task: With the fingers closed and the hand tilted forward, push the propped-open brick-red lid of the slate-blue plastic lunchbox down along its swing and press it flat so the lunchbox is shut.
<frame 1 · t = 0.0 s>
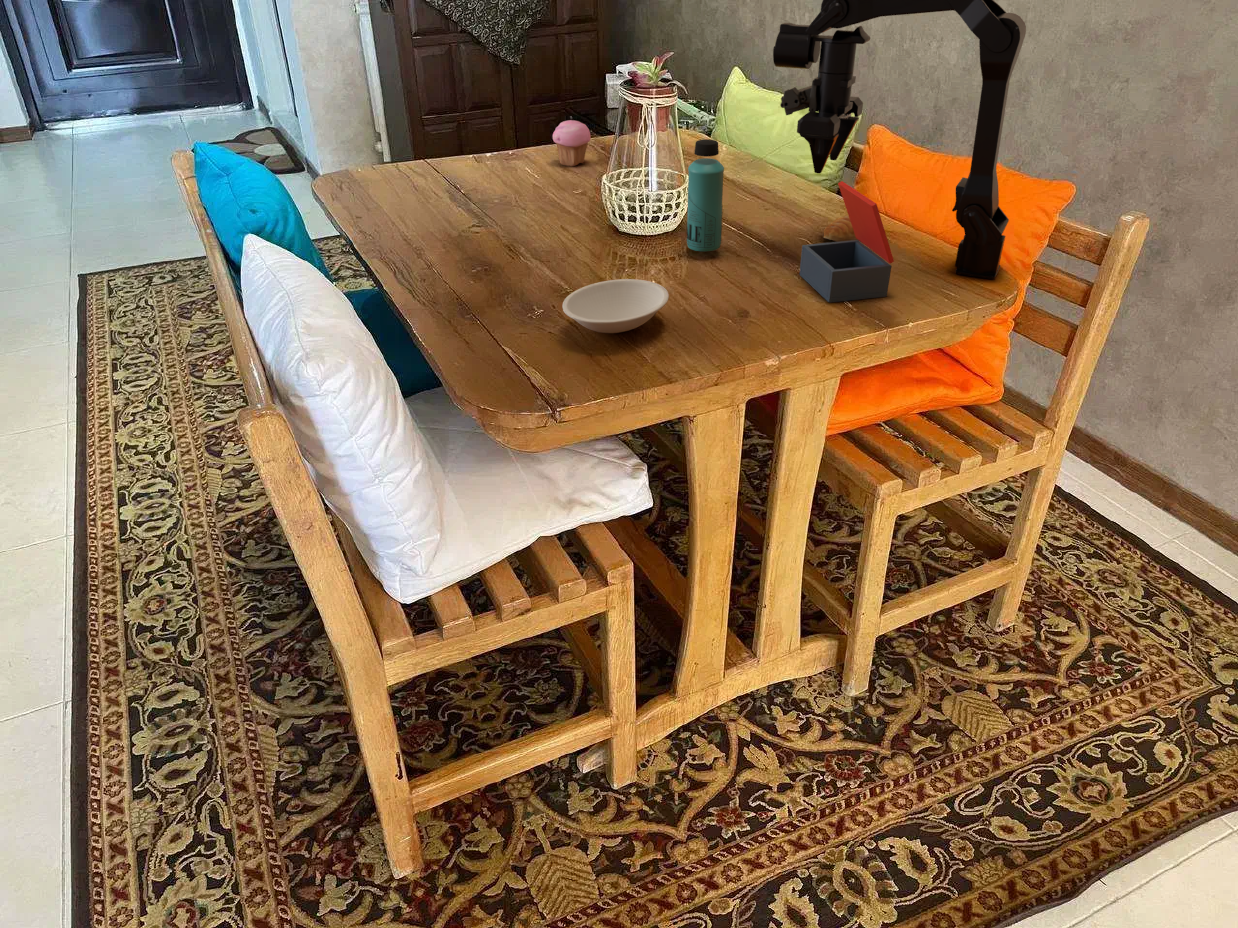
hand: (825, 166, 161), 15 cm above the table, tool pointing down, fingers open, 9 cm apart
dish: (616, 331, 140), on the table
lunchbox: (841, 285, 153), on the table
beverage bottle: (703, 254, 167), on the table
lid: (865, 221, 148), point 11 cm above the table, hinge at 65.0°
pastry: (847, 237, 174), on the table
cupcake: (573, 165, 219), on the table
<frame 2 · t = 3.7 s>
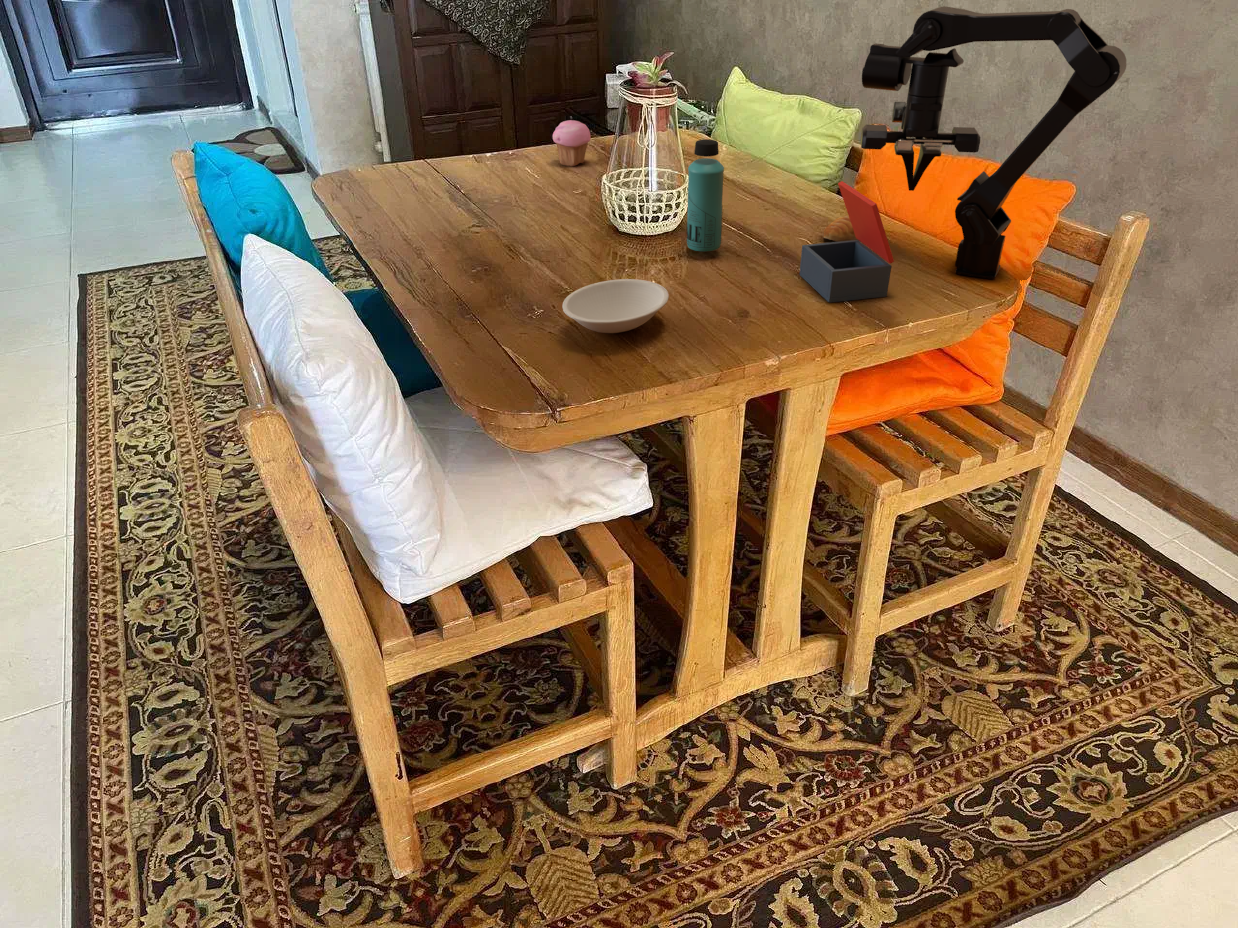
hand: (911, 190, 158), 12 cm above the table, tool pointing down, fingers closed
nothing on the table moved.
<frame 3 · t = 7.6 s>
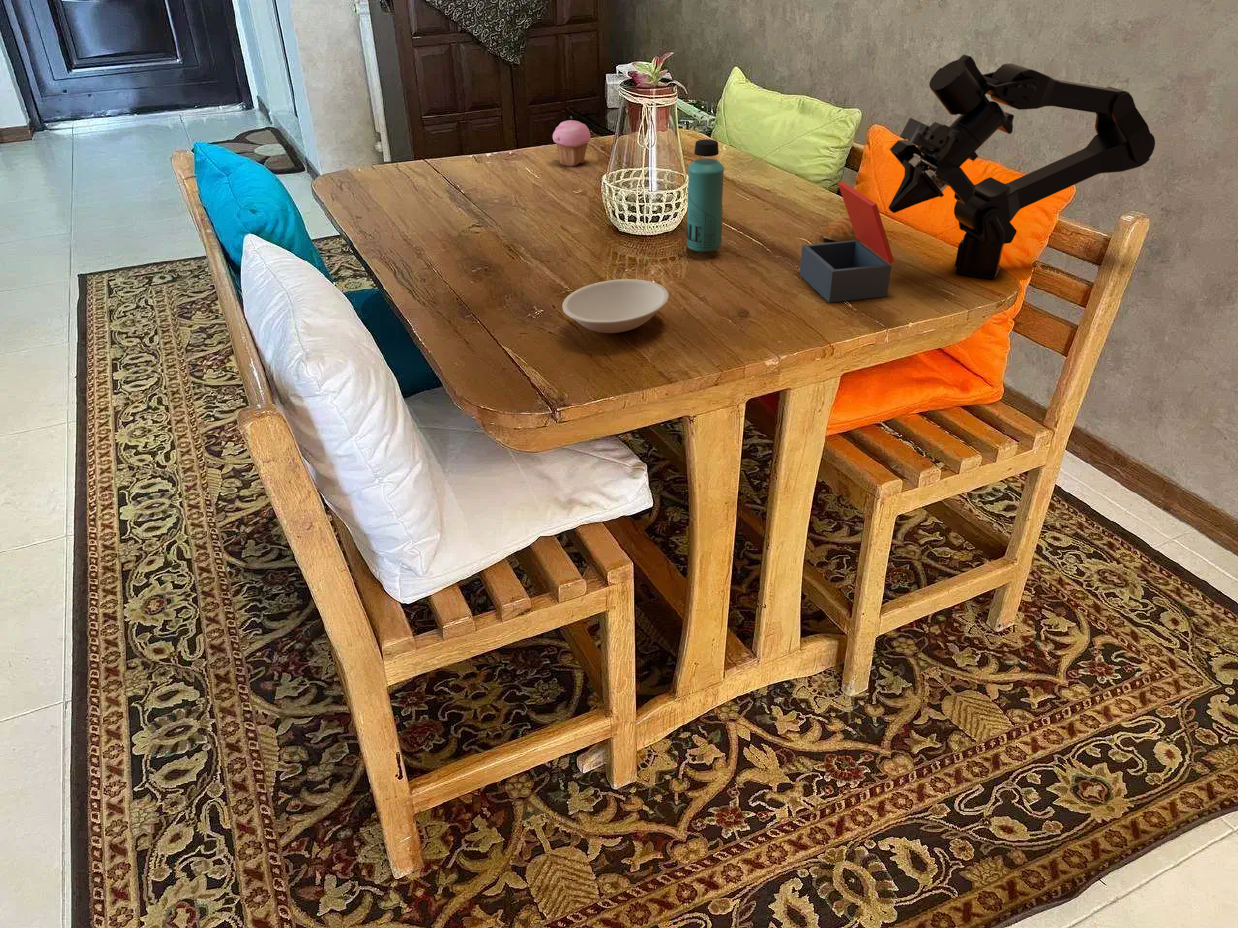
hand: (890, 210, 148), 12 cm above the table, tool tilted 45°, fingers closed
nothing on the table moved.
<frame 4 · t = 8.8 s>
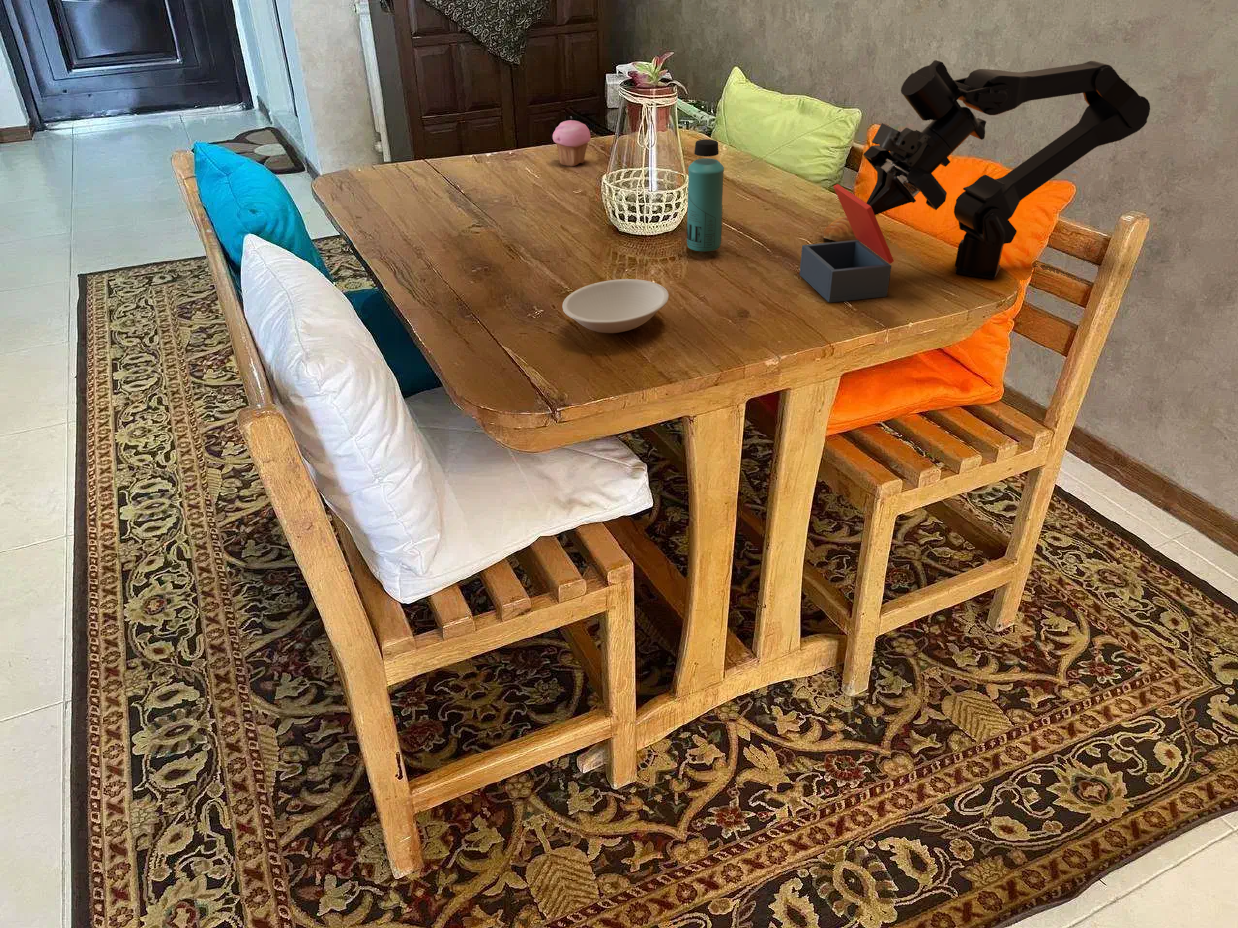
hand: (863, 216, 147), 12 cm above the table, tool tilted 45°, fingers closed
lid: (863, 223, 148), point 10 cm above the table, hinge at 60.2°
everything else where it was.
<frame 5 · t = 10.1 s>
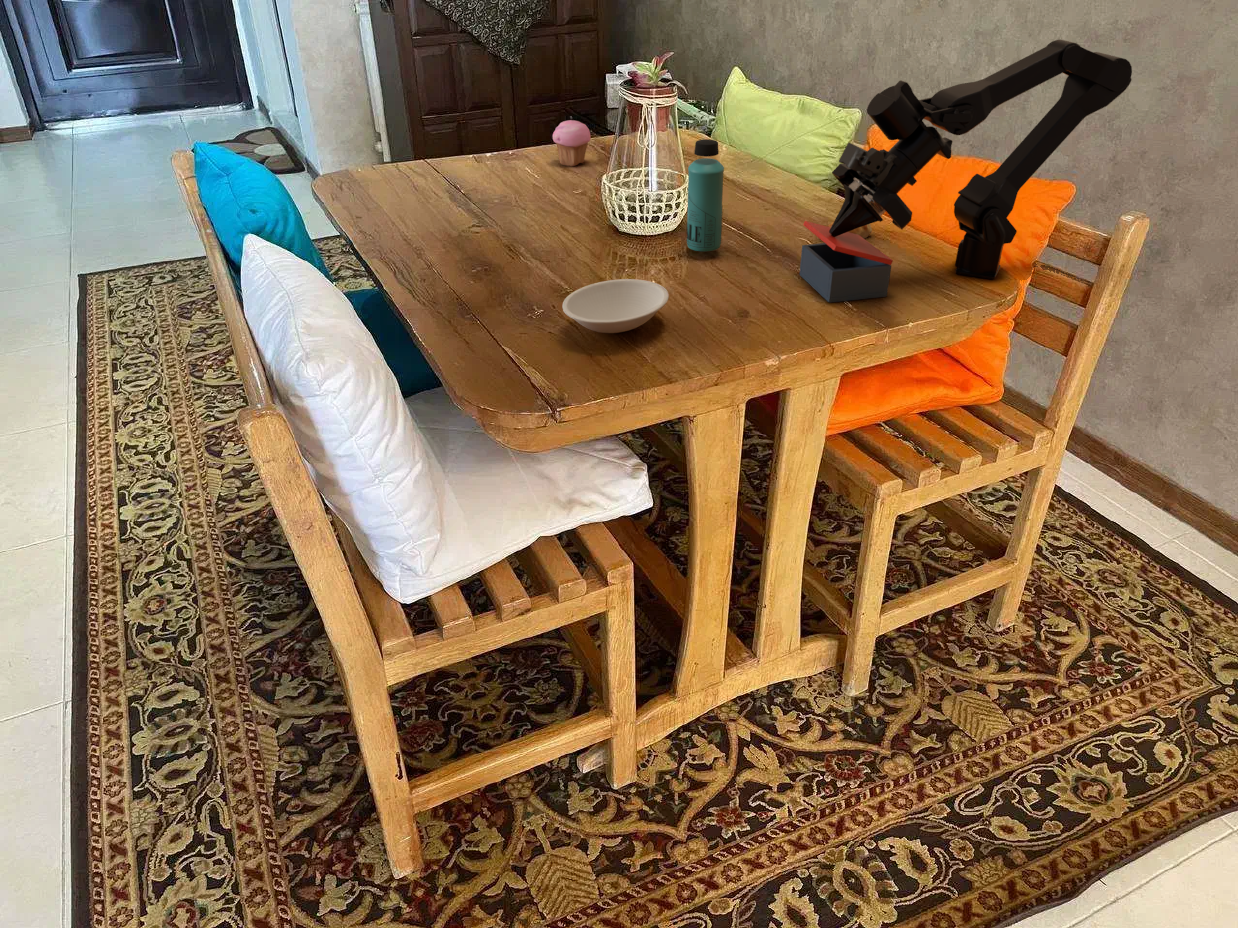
hand: (831, 234, 148), 9 cm above the table, tool tilted 45°, fingers closed, pressing on lid
lid: (847, 242, 149), point 7 cm above the table, hinge at 18.2°, touching gripper
everything else where it was.
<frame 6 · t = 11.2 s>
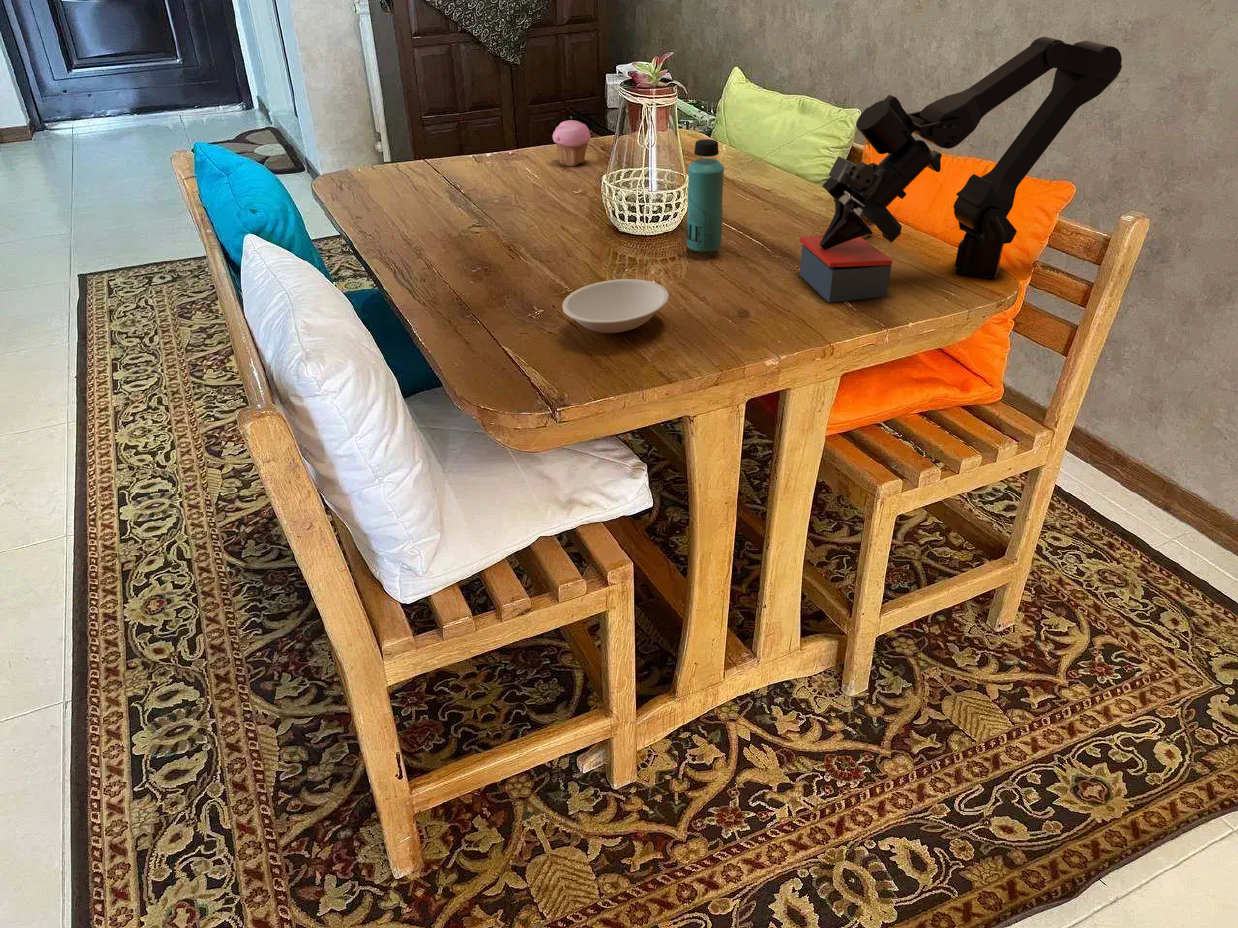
hand: (821, 247, 149), 7 cm above the table, tool tilted 45°, fingers closed, pressing on lid
lid: (844, 250, 150), point 6 cm above the table, hinge at 3.5°, touching gripper
everything else where it was.
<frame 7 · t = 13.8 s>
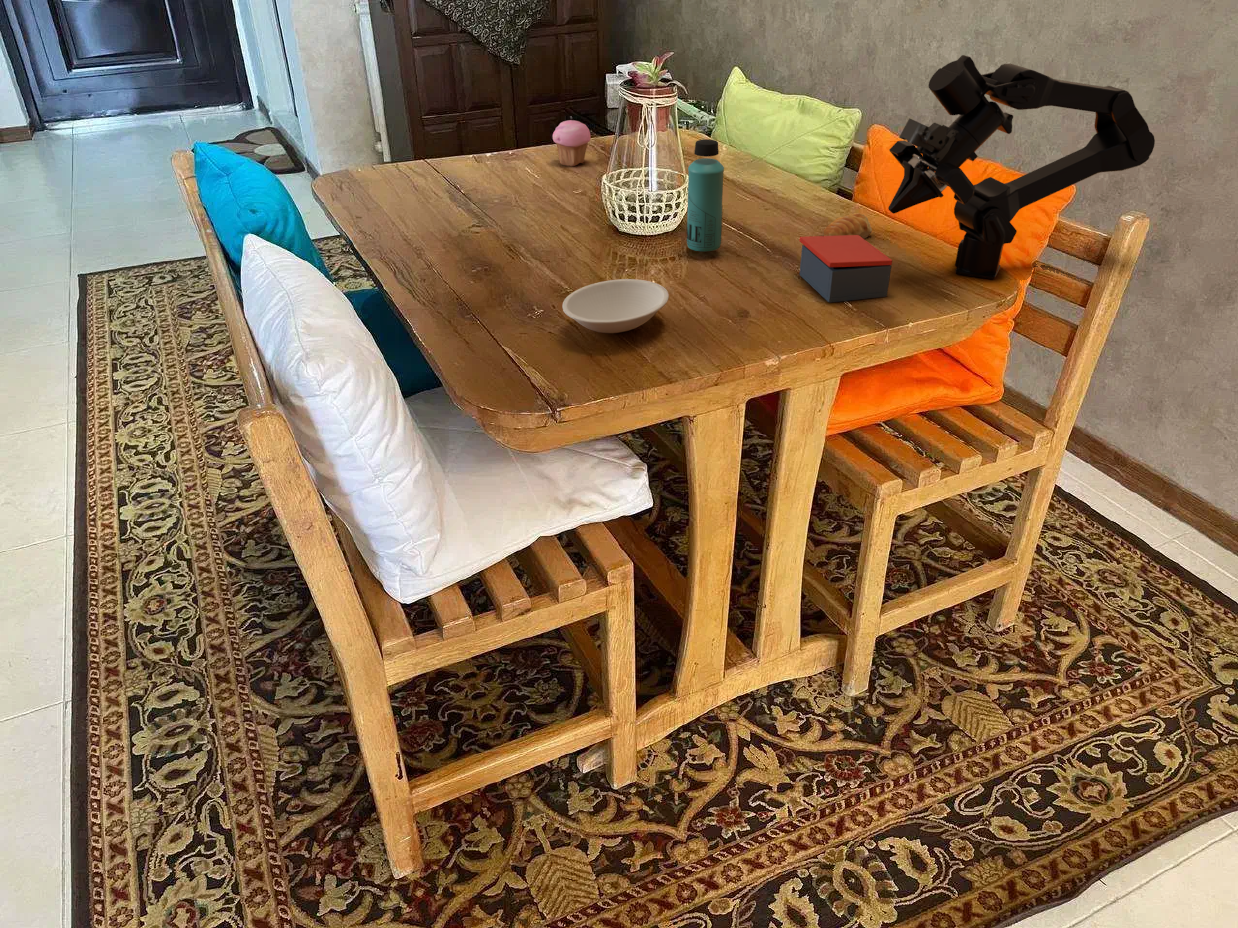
hand: (890, 211, 148), 12 cm above the table, tool tilted 45°, fingers closed
lid: (844, 250, 150), point 6 cm above the table, hinge at 3.5°
everything else where it was.
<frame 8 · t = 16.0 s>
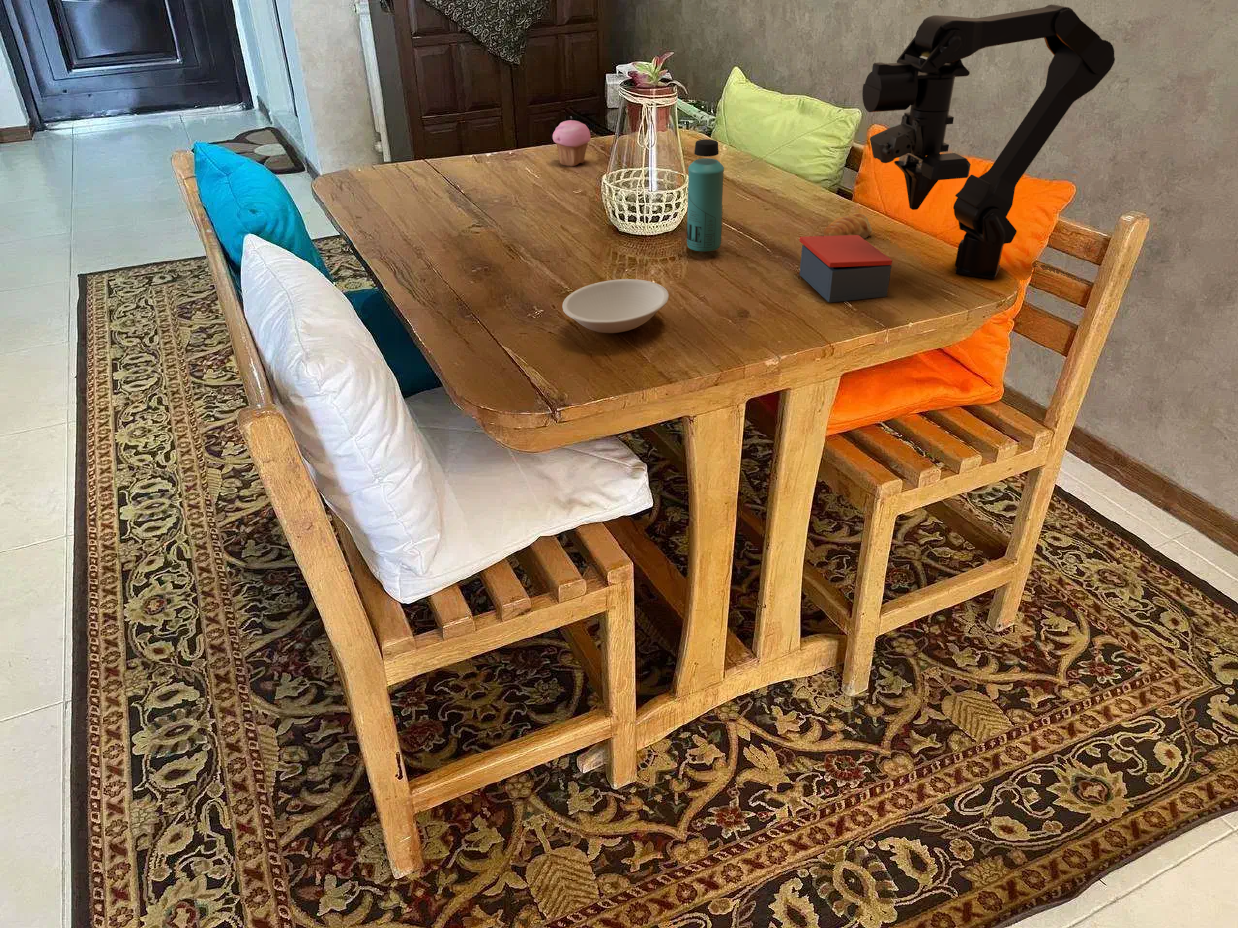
hand: (913, 209, 149), 12 cm above the table, tool pointing down, fingers closed
nothing on the table moved.
at the end: lid at +4° (first picture: +65°) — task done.
